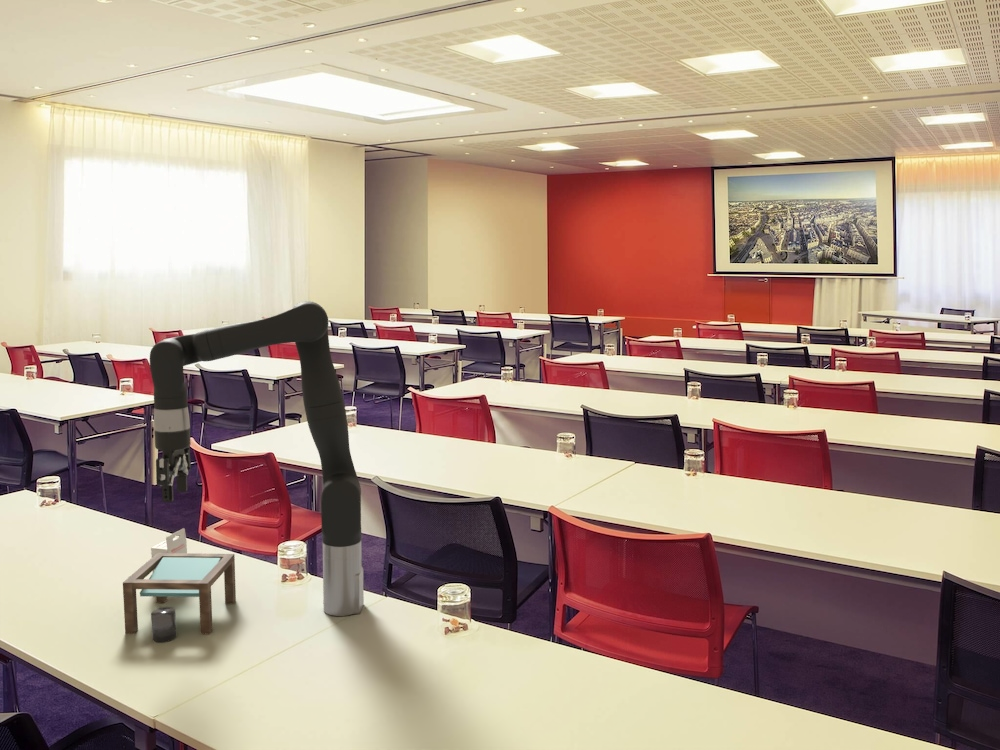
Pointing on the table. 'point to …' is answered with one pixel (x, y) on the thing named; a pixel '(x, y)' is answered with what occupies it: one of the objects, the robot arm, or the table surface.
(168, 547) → the ink cartridge box
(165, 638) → the cylinder
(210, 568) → the trapdoor
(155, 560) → the miniature wooden table
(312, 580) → the table surface
